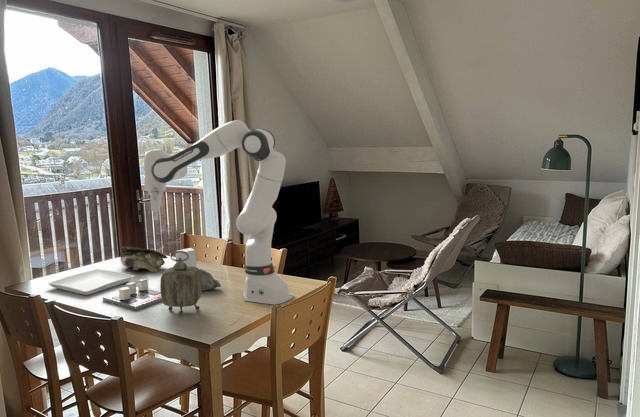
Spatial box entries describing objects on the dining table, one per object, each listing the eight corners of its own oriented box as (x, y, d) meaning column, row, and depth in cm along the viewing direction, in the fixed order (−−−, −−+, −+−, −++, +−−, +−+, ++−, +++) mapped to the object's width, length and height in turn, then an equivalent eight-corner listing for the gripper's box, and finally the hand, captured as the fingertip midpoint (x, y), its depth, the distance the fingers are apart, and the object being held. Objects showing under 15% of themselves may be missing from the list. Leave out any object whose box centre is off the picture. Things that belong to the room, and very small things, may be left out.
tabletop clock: (203, 308, 196) (200, 248, 192) (198, 316, 187) (195, 253, 183) (167, 309, 195) (163, 248, 192) (160, 317, 186) (156, 254, 183)
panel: (171, 298, 209) (171, 293, 209) (135, 310, 194) (135, 306, 194) (139, 289, 221) (138, 285, 220) (103, 301, 206) (102, 296, 206)
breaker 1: (136, 292, 210) (135, 283, 209) (130, 294, 207) (129, 284, 207) (132, 291, 211) (131, 281, 211) (126, 293, 209) (125, 283, 208)
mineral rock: (222, 289, 220) (221, 268, 219) (205, 296, 211) (204, 274, 210) (202, 285, 227) (201, 264, 225) (184, 291, 218) (183, 270, 216)
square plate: (47, 290, 223) (46, 282, 222) (98, 275, 247) (98, 268, 246) (86, 299, 210) (85, 290, 210) (136, 282, 234) (135, 274, 234)
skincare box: (192, 276, 242) (190, 247, 239) (197, 279, 237) (196, 249, 235) (176, 279, 236) (174, 250, 234) (181, 282, 232) (179, 252, 230)
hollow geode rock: (123, 274, 263) (105, 259, 253) (135, 255, 270) (118, 239, 260) (161, 279, 250) (143, 264, 240) (172, 259, 257) (156, 242, 246)
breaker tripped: (130, 298, 203) (129, 288, 202) (123, 300, 200) (123, 290, 199) (125, 296, 204) (125, 287, 204) (119, 298, 202) (118, 288, 201)
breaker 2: (148, 288, 215) (147, 279, 214) (142, 290, 212) (141, 281, 212) (143, 287, 216) (143, 278, 216) (138, 289, 214) (137, 280, 213)
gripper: (162, 189, 201) (163, 222, 203) (163, 184, 220) (164, 213, 222) (146, 189, 199) (147, 222, 201) (148, 184, 218) (149, 214, 221)
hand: (156, 217), depth 212 cm, fingers open, 8 cm apart
